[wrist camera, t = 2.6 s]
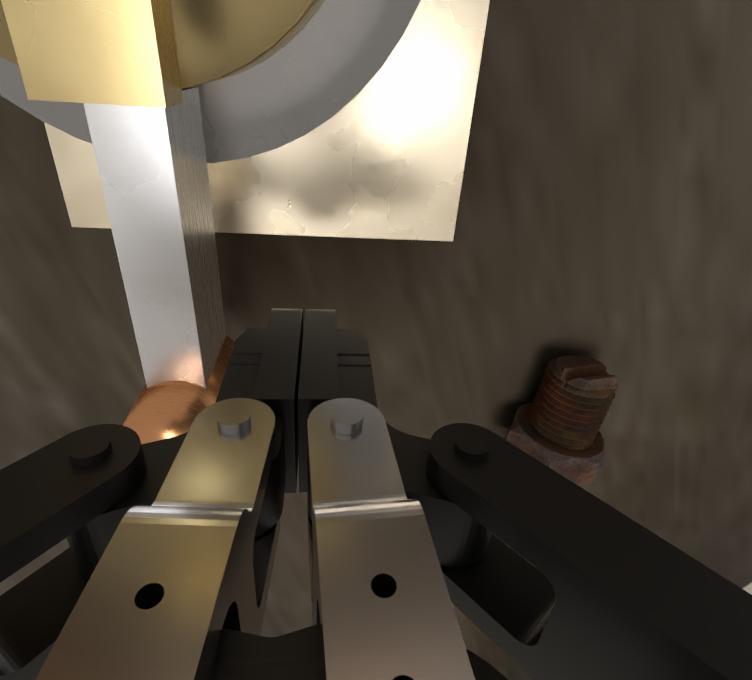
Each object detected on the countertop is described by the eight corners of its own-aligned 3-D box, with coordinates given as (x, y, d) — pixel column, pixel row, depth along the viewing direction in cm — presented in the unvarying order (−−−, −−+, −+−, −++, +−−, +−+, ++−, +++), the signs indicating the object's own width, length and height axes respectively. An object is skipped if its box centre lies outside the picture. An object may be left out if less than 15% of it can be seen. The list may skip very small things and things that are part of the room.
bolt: (565, 330, 25) (489, 525, 32) (502, 345, 22) (434, 555, 29) (674, 389, 21) (560, 597, 28) (613, 417, 18) (503, 640, 25)
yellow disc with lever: (-333, -766, 7) (-1211, -1842, 3) (396, -611, 8) (457, -1257, 4) (60, 389, 17) (-19, 486, 13) (350, 391, 18) (354, 481, 14)
